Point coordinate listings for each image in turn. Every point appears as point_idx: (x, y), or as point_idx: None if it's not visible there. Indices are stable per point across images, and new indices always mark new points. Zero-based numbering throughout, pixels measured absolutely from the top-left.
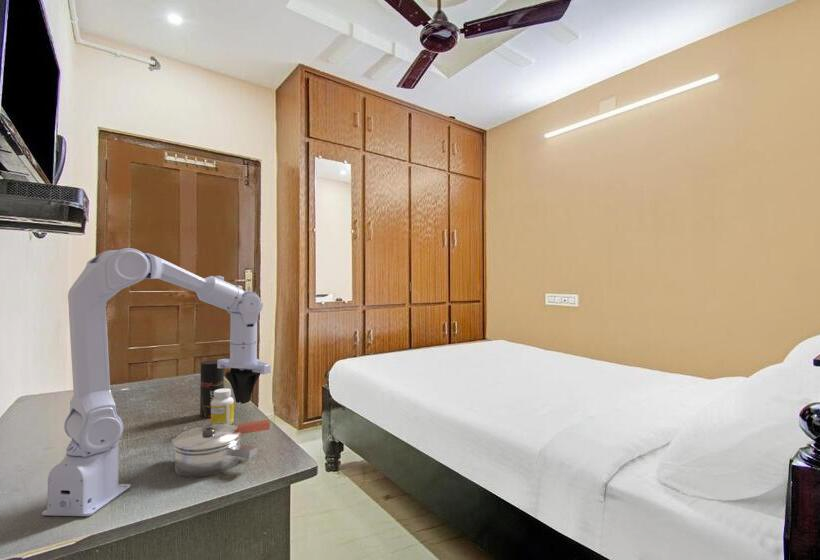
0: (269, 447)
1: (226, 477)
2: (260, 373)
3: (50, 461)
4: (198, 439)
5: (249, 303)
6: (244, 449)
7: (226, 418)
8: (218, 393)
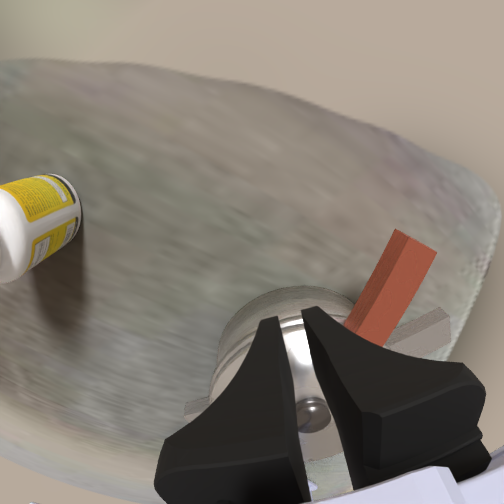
0: (343, 188)
1: None
2: (469, 370)
3: (73, 467)
4: (318, 432)
5: None
6: (432, 346)
7: (60, 223)
8: None
